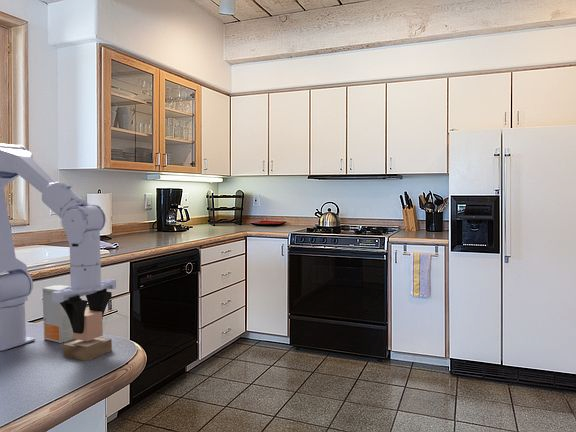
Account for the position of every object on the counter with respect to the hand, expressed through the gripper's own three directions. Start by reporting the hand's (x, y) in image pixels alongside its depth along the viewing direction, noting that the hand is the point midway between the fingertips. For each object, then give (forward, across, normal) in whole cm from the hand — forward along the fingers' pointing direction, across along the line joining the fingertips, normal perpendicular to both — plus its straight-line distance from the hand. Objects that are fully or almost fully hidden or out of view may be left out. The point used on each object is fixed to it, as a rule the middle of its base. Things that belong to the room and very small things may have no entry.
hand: (87, 329), depth 95 cm
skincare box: (+5, +4, +14) cm, 15 cm away
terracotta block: (+2, 0, 0) cm, 2 cm away
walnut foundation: (+5, 0, 0) cm, 5 cm away
